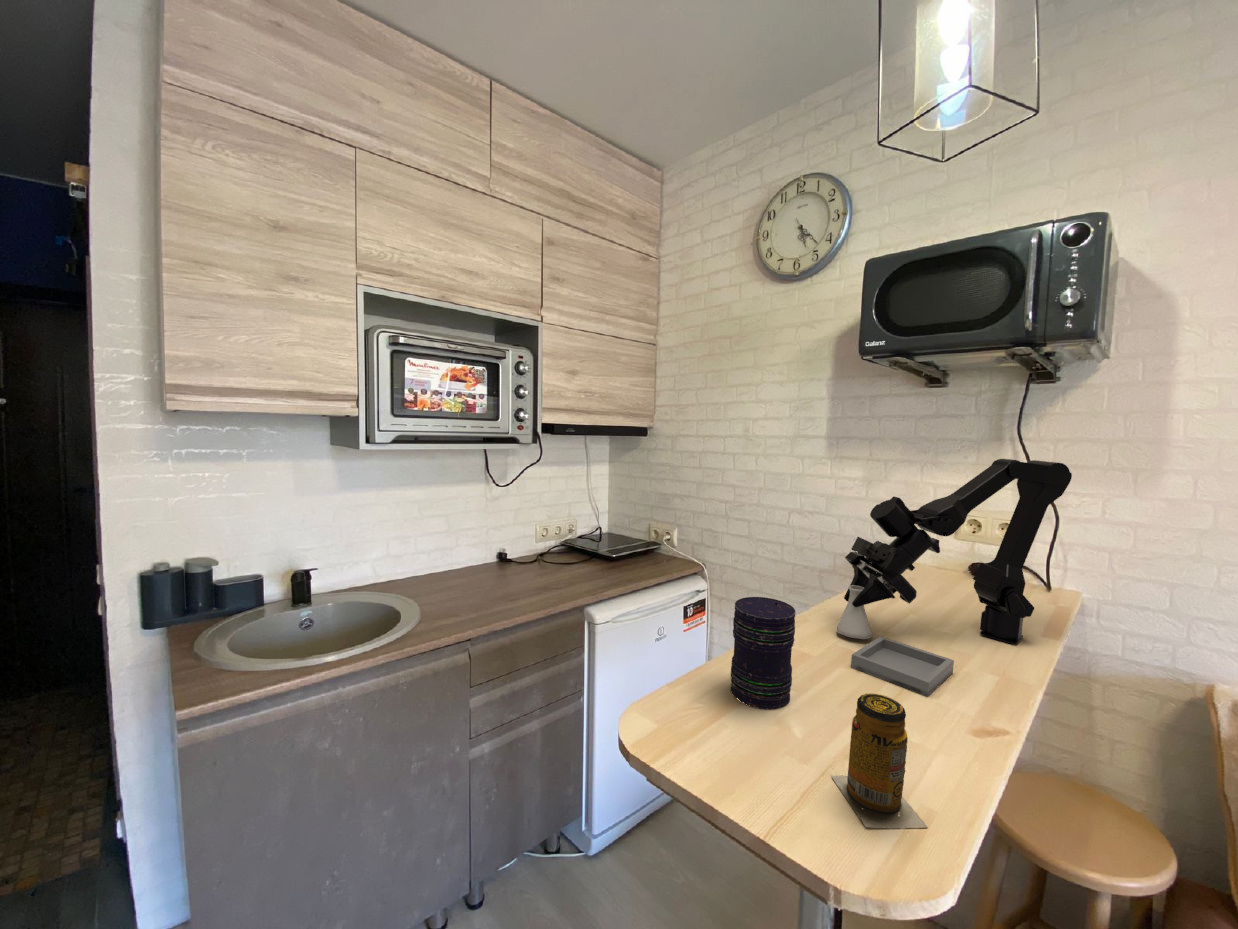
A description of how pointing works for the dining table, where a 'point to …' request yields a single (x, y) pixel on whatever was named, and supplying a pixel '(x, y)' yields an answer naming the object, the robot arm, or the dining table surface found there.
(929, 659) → the tray
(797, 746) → the dining table surface
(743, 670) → the storage jar
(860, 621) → the flask
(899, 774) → the condiment
